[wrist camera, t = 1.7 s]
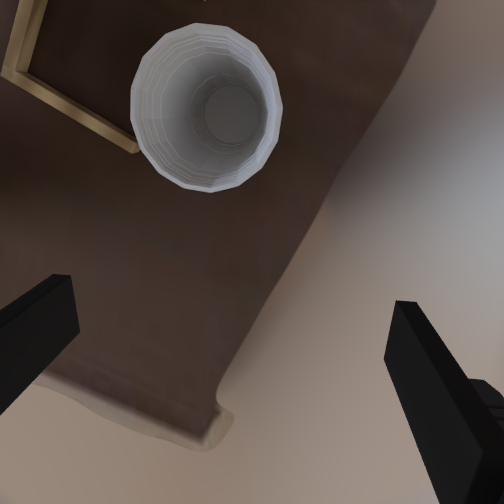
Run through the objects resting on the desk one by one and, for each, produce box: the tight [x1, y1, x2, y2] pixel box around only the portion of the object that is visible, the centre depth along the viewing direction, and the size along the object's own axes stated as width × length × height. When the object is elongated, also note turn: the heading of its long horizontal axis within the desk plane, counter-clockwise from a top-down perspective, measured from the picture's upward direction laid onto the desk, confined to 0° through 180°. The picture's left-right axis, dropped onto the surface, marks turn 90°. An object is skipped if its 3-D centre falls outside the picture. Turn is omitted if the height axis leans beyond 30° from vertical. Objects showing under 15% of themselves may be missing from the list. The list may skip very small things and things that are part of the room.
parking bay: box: [0, 0, 205, 153], centre depth 33 cm, size 14×16×2 cm
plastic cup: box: [130, 23, 283, 193], centre depth 30 cm, size 11×11×12 cm
